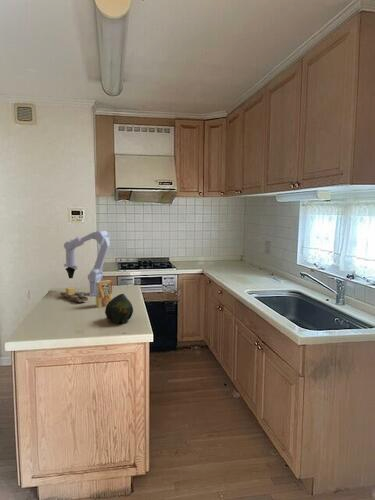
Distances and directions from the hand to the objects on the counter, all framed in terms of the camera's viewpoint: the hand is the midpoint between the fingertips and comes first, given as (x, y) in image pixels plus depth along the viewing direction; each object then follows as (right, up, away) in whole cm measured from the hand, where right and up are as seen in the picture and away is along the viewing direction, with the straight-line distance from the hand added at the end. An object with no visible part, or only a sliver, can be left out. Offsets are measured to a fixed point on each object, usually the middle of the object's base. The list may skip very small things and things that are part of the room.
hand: (70, 278), depth 256 cm
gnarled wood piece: (+8, -12, -18) cm, 23 cm away
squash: (+44, -19, -58) cm, 75 cm away
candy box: (+30, -15, -31) cm, 46 cm away
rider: (+4, -9, -15) cm, 19 cm away
